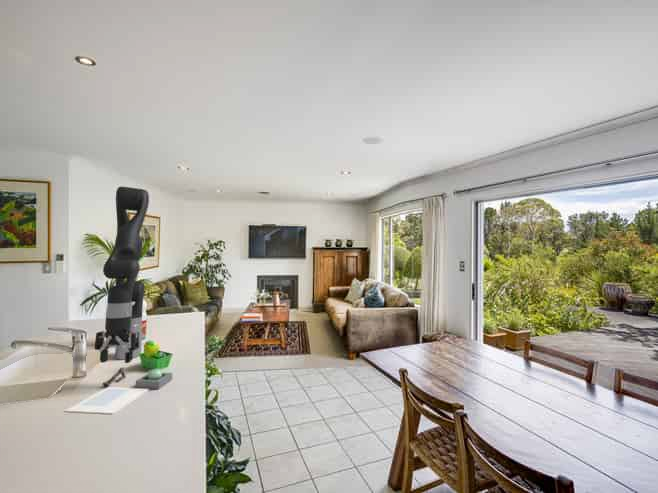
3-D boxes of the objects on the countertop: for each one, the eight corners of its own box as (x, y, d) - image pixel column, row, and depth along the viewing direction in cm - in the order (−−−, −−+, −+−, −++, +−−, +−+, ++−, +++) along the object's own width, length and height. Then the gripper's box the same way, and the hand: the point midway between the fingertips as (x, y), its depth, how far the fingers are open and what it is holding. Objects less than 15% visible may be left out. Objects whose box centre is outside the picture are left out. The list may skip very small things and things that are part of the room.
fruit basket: (173, 366, 122) (175, 338, 122) (152, 373, 114) (154, 343, 114) (155, 361, 126) (156, 334, 127) (133, 368, 118) (135, 339, 119)
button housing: (150, 378, 108) (150, 372, 108) (171, 379, 108) (172, 372, 108) (135, 388, 100) (135, 380, 100) (158, 389, 100) (159, 381, 100)
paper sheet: (108, 387, 100) (108, 386, 100) (148, 389, 100) (149, 388, 100) (64, 411, 84) (64, 410, 84) (112, 414, 84) (112, 412, 84)
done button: (152, 376, 106) (152, 368, 107) (164, 377, 106) (164, 368, 106) (144, 381, 102) (144, 373, 102) (156, 382, 102) (157, 373, 102)
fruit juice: (121, 343, 150) (125, 288, 152) (142, 340, 157) (146, 287, 158) (125, 347, 144) (128, 289, 145) (147, 344, 150) (150, 288, 151)
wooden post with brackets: (129, 375, 109) (125, 365, 107) (111, 393, 102) (107, 383, 100) (124, 375, 109) (121, 365, 108) (106, 392, 102) (102, 382, 100)
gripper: (145, 314, 109) (142, 359, 108) (107, 313, 109) (104, 358, 108) (131, 317, 101) (128, 366, 100) (90, 316, 102) (87, 365, 101)
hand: (115, 362), depth 104 cm, fingers open, 8 cm apart
